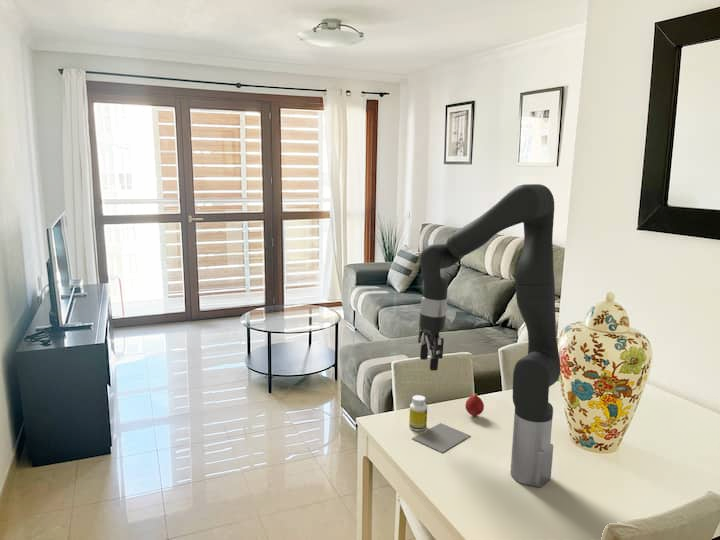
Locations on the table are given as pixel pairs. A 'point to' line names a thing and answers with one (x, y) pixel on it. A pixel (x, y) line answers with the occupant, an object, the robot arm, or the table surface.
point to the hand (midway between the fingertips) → (428, 364)
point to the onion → (474, 405)
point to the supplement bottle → (418, 413)
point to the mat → (441, 437)
